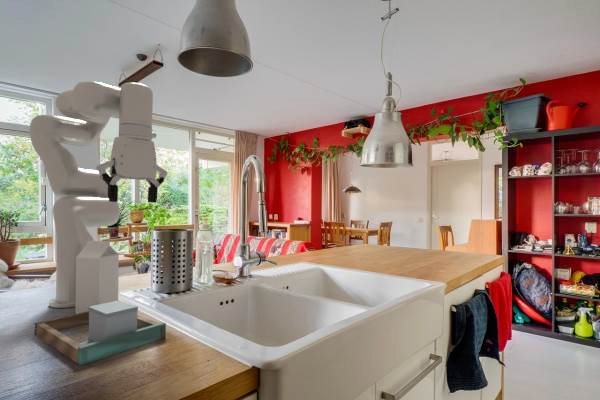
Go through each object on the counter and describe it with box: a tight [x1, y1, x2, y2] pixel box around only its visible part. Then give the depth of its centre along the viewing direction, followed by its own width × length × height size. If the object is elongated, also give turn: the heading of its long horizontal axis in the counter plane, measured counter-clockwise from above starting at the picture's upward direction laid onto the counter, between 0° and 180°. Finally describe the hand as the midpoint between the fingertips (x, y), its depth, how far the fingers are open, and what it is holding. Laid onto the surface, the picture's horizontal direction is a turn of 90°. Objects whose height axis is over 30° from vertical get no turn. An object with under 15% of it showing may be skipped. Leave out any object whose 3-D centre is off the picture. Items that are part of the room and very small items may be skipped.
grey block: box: [87, 299, 139, 343], centre depth 71 cm, size 8×6×7 cm
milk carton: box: [75, 240, 120, 314], centre depth 93 cm, size 7×7×19 cm
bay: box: [34, 311, 167, 366], centre depth 75 cm, size 25×16×3 cm, turn 53°
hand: (133, 202), depth 86 cm, fingers open, 9 cm apart
